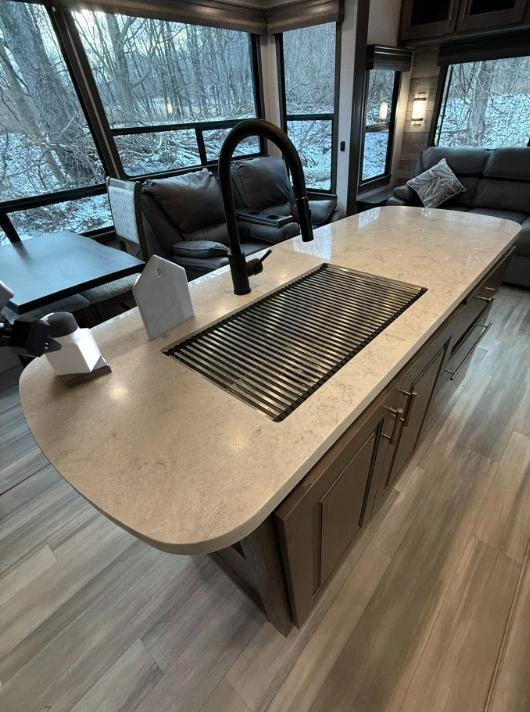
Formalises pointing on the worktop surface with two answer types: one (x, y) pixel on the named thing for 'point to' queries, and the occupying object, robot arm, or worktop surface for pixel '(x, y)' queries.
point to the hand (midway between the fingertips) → (40, 344)
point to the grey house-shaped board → (162, 296)
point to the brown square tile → (87, 374)
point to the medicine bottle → (71, 345)
